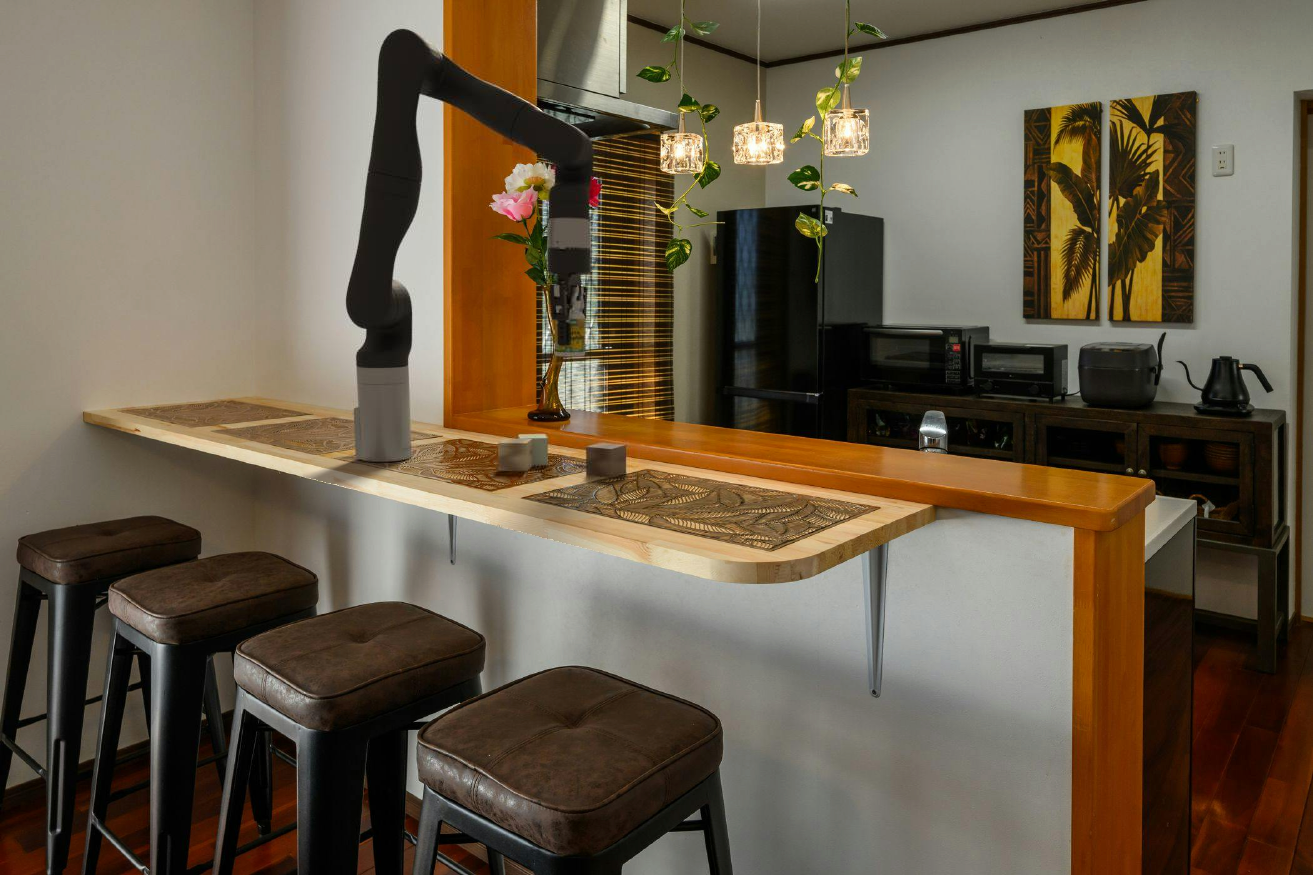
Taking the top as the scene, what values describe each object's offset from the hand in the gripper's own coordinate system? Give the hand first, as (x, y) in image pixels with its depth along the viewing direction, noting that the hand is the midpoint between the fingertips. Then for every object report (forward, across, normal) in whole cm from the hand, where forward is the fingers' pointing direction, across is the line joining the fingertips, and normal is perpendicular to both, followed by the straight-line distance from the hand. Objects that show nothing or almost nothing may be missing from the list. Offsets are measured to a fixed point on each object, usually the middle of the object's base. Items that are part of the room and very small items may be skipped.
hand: (569, 344), depth 159 cm
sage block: (+22, -2, -8) cm, 23 cm away
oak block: (+22, +4, -9) cm, 24 cm away
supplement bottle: (+2, 0, 0) cm, 2 cm away
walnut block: (+22, +5, +8) cm, 24 cm away
